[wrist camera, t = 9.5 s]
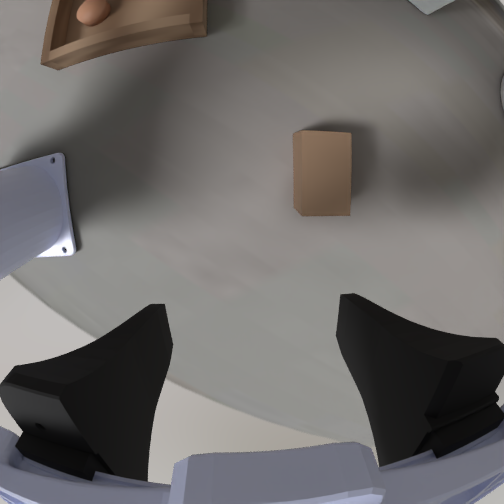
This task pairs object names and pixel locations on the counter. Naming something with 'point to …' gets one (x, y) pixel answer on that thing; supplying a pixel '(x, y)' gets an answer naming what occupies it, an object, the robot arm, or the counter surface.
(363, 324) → the robot arm
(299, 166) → the lid
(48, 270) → the counter surface
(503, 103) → the supplement can
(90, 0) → the box
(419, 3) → the skincare box
